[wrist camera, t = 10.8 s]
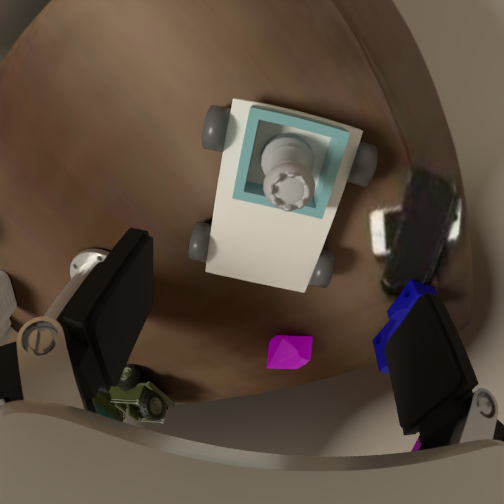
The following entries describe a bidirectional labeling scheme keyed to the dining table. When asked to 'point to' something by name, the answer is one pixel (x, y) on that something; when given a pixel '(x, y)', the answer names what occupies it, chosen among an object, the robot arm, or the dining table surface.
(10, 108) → the dining table surface
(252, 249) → the chassis
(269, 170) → the rook chess piece
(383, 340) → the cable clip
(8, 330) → the paper towel roll
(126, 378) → the toy jeep
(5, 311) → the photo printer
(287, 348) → the crystal
